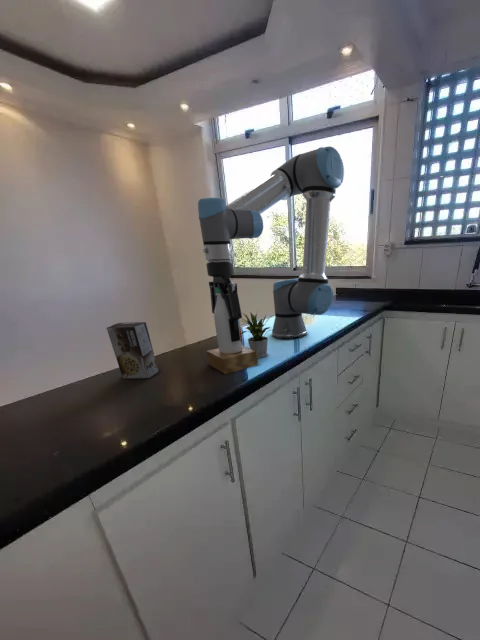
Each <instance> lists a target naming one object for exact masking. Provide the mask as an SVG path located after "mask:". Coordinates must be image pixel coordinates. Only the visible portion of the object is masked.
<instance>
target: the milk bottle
mask: <svg viewBox="0 0 480 640" xmlns="http://www.w3.org/2000/svg"><path fill="white" fill-rule="evenodd" d="M215 292H216V295H217V302H216V306H215V310H214V314H213V319H214V320H213V321H214V327H215V333H216V339H217V346H218V348H219V351H220V352H221V353H224V354H232V353H237V352H240V351H242V349H243V346H244V345H243V337H242V334H241V333H242V329H241V320H240V319H239V320H238V325H239V333H240V340H239V341H235V342H232V341H231V334H230V326H229V321H228V319H230V317H229V314H228V311H227V307H226V304H225V301H224V299H223V298H222V296H221V292H220V289H219V288H218V287H215ZM225 295H227V294H225Z"/></svg>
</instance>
